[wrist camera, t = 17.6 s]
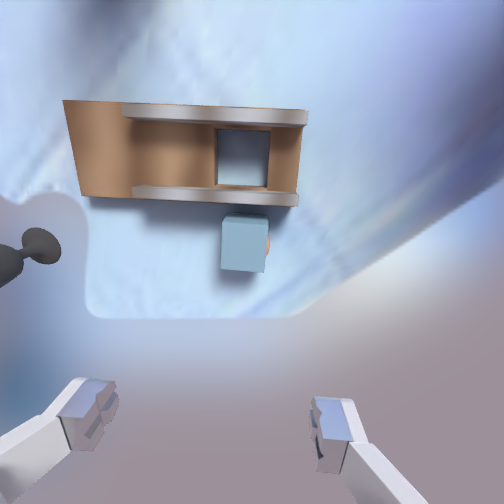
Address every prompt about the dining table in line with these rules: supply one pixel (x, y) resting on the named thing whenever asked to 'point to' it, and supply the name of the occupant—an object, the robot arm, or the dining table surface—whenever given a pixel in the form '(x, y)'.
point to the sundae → (28, 253)
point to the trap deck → (178, 151)
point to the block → (244, 242)
